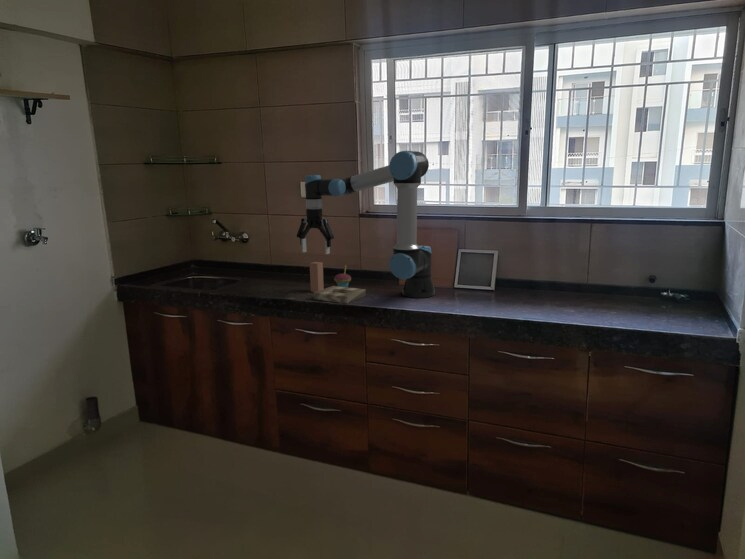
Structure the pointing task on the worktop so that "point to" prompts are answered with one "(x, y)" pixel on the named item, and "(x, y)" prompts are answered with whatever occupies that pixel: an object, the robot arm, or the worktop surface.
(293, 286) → the worktop surface
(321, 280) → the bracket bar
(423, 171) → the robot arm
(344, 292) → the well block
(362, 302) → the worktop surface
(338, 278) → the cupcake
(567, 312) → the worktop surface
